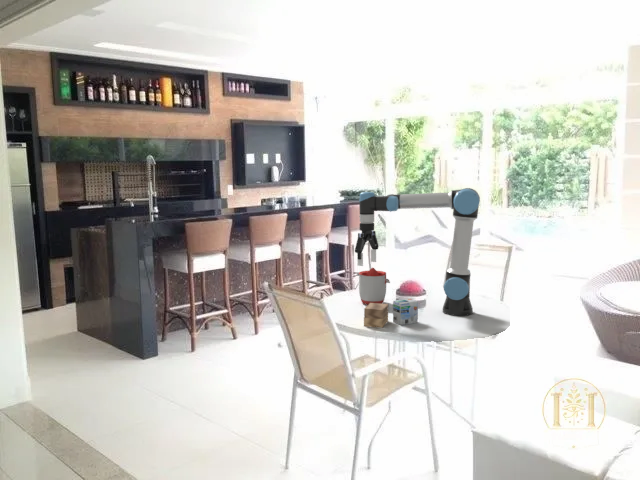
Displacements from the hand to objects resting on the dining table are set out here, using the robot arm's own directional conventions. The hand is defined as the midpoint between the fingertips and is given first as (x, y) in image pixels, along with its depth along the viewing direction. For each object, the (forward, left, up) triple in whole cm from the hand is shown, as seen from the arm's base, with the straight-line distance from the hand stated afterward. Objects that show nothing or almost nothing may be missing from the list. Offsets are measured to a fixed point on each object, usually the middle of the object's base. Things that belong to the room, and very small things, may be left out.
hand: (367, 263), depth 300 cm
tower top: (-10, +19, -22) cm, 30 cm away
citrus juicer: (+1, -21, -26) cm, 34 cm away
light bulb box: (-23, +12, -26) cm, 36 cm away
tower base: (-10, +19, -26) cm, 33 cm away
